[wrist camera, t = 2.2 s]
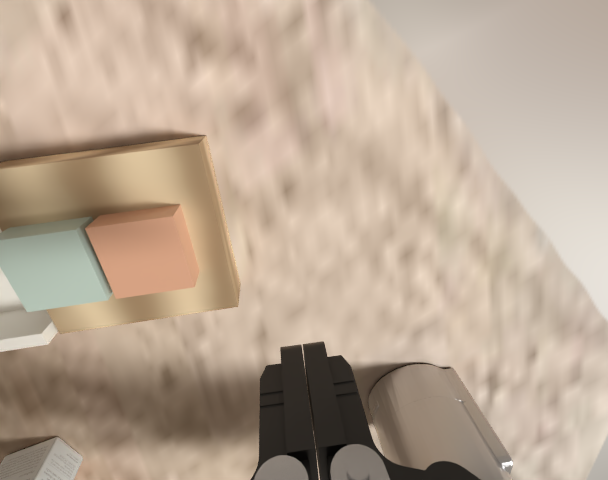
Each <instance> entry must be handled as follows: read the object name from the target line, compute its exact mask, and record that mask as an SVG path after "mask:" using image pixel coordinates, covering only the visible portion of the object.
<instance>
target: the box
mask: <svg viewBox="0 0 608 480" xmlns="http://www.w3.org/2000/svg"><path fill="white" fill-rule="evenodd" d="M1 232H2V231H1V229H0V233H1ZM57 332H58V330H57V328H56V326H55V324H54V322H53V321H52V319H51V317H50V315H49V314H48V312H47V310H39V311H33V312H27V311H26V309H25V308H24V306H23V304H22V303H21V301H20V299H19V298H18V296H17V294H16V293H15V291H14V289H13V288H12V286H11V284H10V283H9V281H8V279H7V278H6V276H5V274H4V273H3V271H2V269H1V268H0V352H3V351H9V350H16V349H22V348H28V347H35V346H41V345H48V344H49V343H50V341H51V340H52V339H53V338H54V336H55V335H56V334H57Z"/></svg>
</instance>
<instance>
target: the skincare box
mask: <svg viewBox="0 0 608 480" xmlns="http://www.w3.org/2000/svg"><path fill="white" fill-rule="evenodd" d="M82 460H83V457H82V456H81V455H80V454H79V453H77V452H76V451H75V450H74V449H72V448H71V447H70V446H69V445H68V444H67V443H65V442H64V441H63V440H62V439H61V438H59V437H55V438H53V439H50V440H47V441H45V442H42V443H39V444H36V445H34V446H31V447H28V448H26V449H23V450H20V451H18V452H15V453H12V454H9V455H7V456H5V457H4V459H3V460H2V462H1V463H0V480H74V478H75V476H76V473H77V471H78V469H79V467H80V465H81V462H82Z"/></svg>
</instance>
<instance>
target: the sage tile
mask: <svg viewBox="0 0 608 480" xmlns="http://www.w3.org/2000/svg"><path fill="white" fill-rule="evenodd" d="M92 222H93V218H92V216H91V217H84V218H76V219H69V220H62V221H54V222H47V223H40V224H33V225H25V226H18V227H11V228H8V229H6V230H4V231H3V232H1V233H0V268H1V269H2V271H3V273H4V274H5V276H6V278H7V279H8V281H9V283H10V284H11V286H12V288H13V289H14V291H15V293H16V294H17V296H18V298H19V299H20V301H21V303H22V304H23V306H24V308H25V309H26V311H27V312H33V311H39V310H46V309H53V308H60V307H66V306H73V305H80V304H86V303H93V302H100V301H106V300H109V298H110V297H111V295H112V294H113V291H112V289H111V286H110V284H109V282H108V280H107V277H106V275H105V273H104V271H103V268H102V266H101V264H100V262H99V259H98V257H97V255H96V252H95V250H94V248H93V246H92V243H91V241H90V239H89V237H88V234H87V232H86V230H85V228H86V227H87V226H88V225H89V224H90V223H92Z"/></svg>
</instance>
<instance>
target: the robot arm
mask: <svg viewBox="0 0 608 480" xmlns="http://www.w3.org/2000/svg"><path fill="white" fill-rule="evenodd" d="M303 350H304V360H305V368H304V361H303V354H302V346H301V345H295V346H287V347H281V364H275V365H268V366H266V368H265V370H264V372H263V374H262V376H261V378H260V429H259V462H258V466H257V469H256V471H255V473H254V475H253V477H252V478H251V480H319V479H318V469H317V460H318V467H319V474H320V480H513V479H512V478H511V476H510V473H511V469H512V466H513V461H512V459H511V457H510V455H509V453H508V452H507V450H506V449H505V447H504V446H503V444H502V443H501V441H500V439H499V438H498V436H497V435H496V433H495V432H494V430H493V429H492V427H491V426H490V424H489V422H488V421H487V419H486V418H485V416H484V415H483V413H482V412H481V410H480V409H479V407H478V405H477V404H476V402H475V401H474V399H473V398H472V396H471V395H470V393H469V392H468V390H467V388H466V387H465V385H464V384H463V382H462V381H461V379H460V378H459V376H458V375H457V373H456V371H455V370H454V369H453V368H451V369H441V368H439V367H436V366H434V365H428V364H414V365H408V366H405V367H401V368H398V369H396V370H394V371H392V372H390V373H388V374H387V375H386V376H384V377H383V378H382V379H380V380H379V381H378V382H377V383H376V385H375V386H374V387H373V389H372V390H371V393H370V395H369V400H368V404H369V409H370V412H371V416H372V420H373V423H374V426H375V429H376V431H377V434H378V438H379V441H380V444H381V447H382V450H383V454H384V456H383V455H382V454H381V453H380V452H379V450H378V449H377V448H376V446H375V444H374V442H373V439H372V436H371V433H370V430H369V426H368V423H367V419H366V416H365V413H364V409H363V406H362V402H361V399H360V396H359V393H358V389H357V386H356V383H355V379H354V375H353V372H352V369H351V366H350V365H349V364H348V363H347V361H346V360H345V359H344V358H343V357H342V356H341V355H339V356H332V357H327V353H326V349H325V344H324V342H316V343H309V344H303ZM305 369H306V375H305ZM306 379H307V383H306ZM307 387H308V390H307ZM308 395H309V397H308ZM309 402H310V405H309ZM310 409H311V412H310ZM311 417H312V419H311ZM312 424H313V426H312ZM313 431H314V434H313ZM314 438H315V441H314ZM315 446H316V448H315ZM316 453H317V458H316Z"/></svg>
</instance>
